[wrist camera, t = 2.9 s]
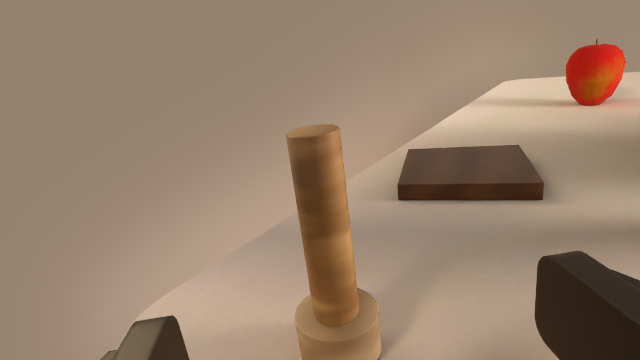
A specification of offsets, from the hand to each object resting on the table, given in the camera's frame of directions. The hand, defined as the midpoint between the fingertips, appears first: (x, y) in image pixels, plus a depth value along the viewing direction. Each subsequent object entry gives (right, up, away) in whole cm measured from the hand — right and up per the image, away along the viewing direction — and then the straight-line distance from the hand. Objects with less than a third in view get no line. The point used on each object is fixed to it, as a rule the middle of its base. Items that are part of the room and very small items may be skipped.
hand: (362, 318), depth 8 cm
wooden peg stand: (0, -7, +14) cm, 16 cm away
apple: (+52, +18, +66) cm, 86 cm away
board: (+16, +3, +37) cm, 41 cm away
